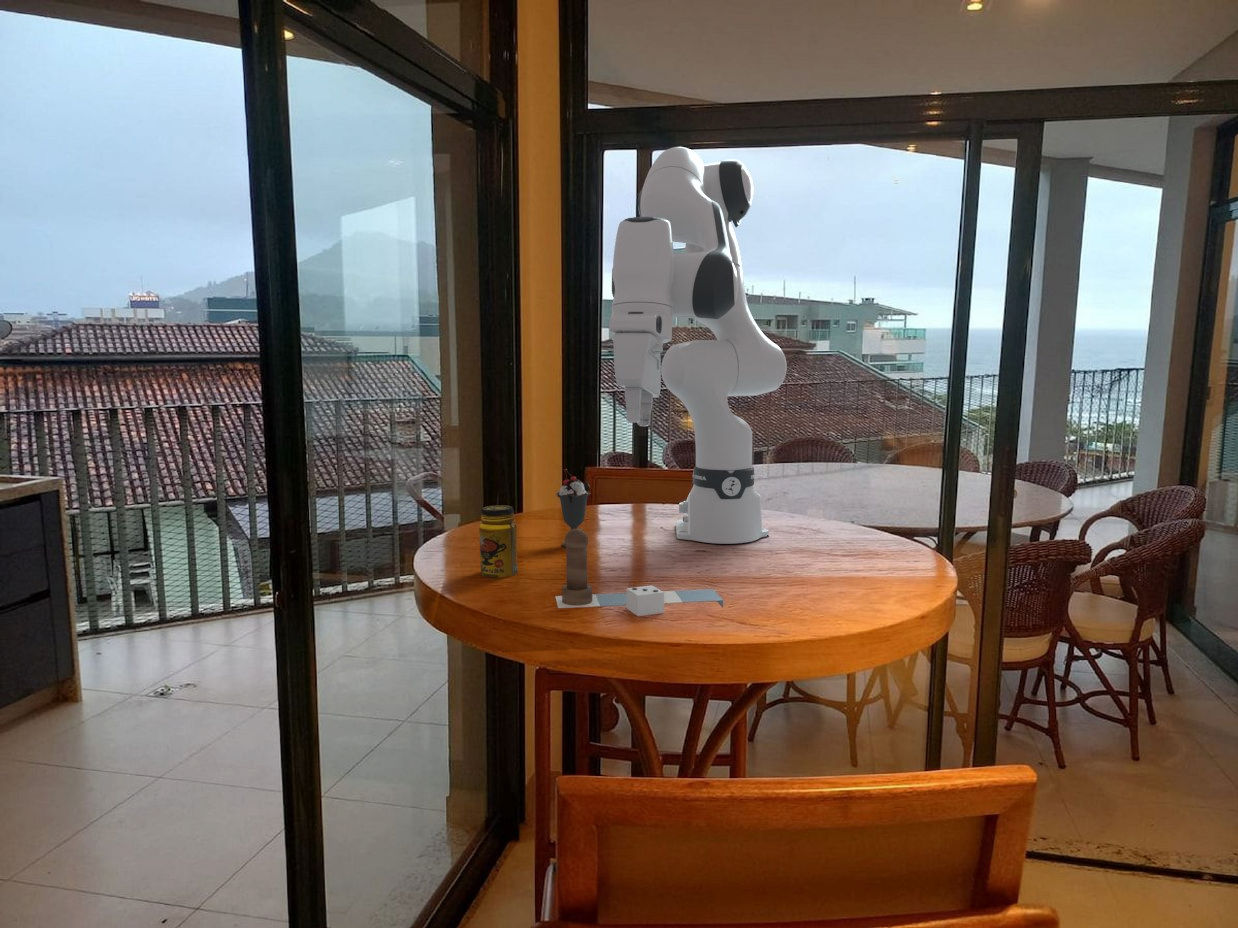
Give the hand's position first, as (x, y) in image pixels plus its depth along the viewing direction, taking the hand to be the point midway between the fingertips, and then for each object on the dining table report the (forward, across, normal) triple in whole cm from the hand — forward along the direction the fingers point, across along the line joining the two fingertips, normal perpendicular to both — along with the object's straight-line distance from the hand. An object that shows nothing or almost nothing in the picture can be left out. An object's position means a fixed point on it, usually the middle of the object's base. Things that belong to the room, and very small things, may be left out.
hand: (638, 424), depth 124 cm
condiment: (+25, -15, -24) cm, 38 cm away
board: (+26, -3, 0) cm, 27 cm away
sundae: (+22, -40, -18) cm, 49 cm away
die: (+27, +3, +2) cm, 28 cm away
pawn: (+26, 0, -8) cm, 27 cm away
